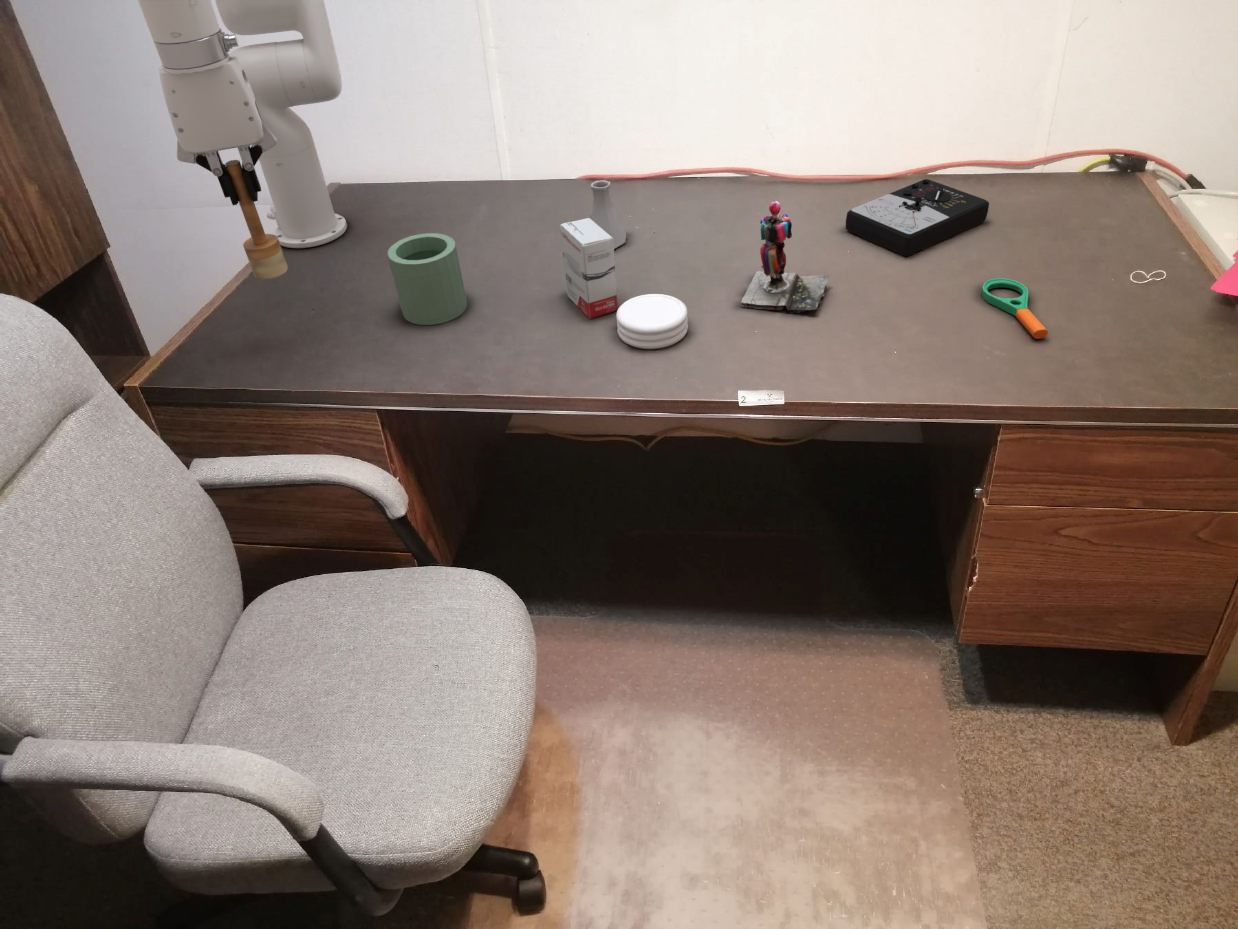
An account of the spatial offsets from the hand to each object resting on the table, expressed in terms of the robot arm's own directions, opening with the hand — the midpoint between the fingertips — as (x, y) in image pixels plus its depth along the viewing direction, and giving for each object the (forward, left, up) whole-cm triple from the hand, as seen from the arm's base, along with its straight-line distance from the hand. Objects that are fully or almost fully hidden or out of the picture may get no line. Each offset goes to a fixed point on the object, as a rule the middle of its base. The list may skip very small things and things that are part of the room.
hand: (245, 198), depth 117 cm
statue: (+62, +38, -22) cm, 76 cm away
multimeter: (+74, +67, -22) cm, 102 cm away
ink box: (+36, +26, -22) cm, 49 cm away
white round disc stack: (+48, +22, -22) cm, 57 cm away
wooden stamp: (0, 0, -11) cm, 11 cm away
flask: (+28, +45, -22) cm, 57 cm away
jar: (+14, +16, -22) cm, 30 cm away
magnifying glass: (+93, +45, -22) cm, 106 cm away
